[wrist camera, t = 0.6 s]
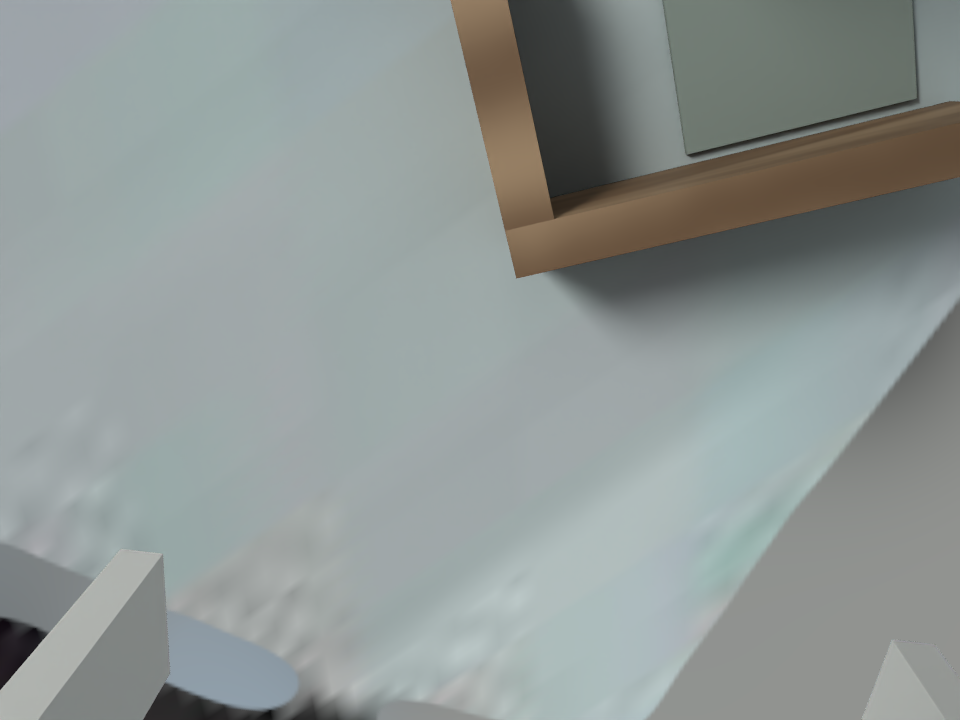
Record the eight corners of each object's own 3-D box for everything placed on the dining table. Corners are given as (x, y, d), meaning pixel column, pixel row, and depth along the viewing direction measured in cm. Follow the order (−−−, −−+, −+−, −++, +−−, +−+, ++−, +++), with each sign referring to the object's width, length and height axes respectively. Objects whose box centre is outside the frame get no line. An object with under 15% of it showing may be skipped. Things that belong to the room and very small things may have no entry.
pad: (649, -88, 31) (650, -90, 30) (900, -161, 29) (904, -164, 29) (685, 153, 34) (686, 154, 34) (913, 98, 33) (916, 98, 32)
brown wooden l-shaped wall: (443, -70, 31) (425, -105, 26) (938, -216, 29) (1040, -291, 23) (517, 248, 36) (516, 278, 30) (951, 147, 33) (1039, 158, 28)
